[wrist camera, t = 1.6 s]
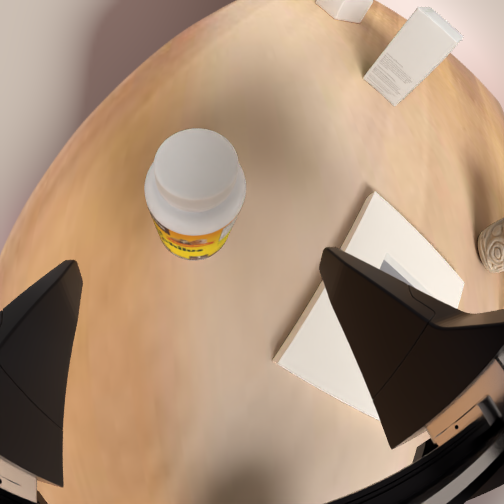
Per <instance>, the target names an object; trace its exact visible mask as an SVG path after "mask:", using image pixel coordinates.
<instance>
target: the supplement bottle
mask: <svg viewBox="0 0 504 504" xmlns="http://www.w3.org/2000/svg"><path fill="white" fill-rule="evenodd" d="M144 191H145V198H146V202H147V205H148V209H149V211H150V213H151V216H152V218H153V221H154V224H155V226H156V229H157V231H158V234H159V236H160V238H161V240H162V242H163V244H164V245H165V247H166V248H167V249H168V250H169V251H170V252H171V253H172V254H174V255H175V256H177V257H180V258H182V259H186V260H202V259H205V258H208V257H210V256H212V255H213V254H215V253H216V252H217V251H219V250H220V249H221V247H222V246H223V245H224V243H225V242H226V240H227V238H228V235H229V233H230V231H231V229H232V227H233V225H234V223H235V220H236V218H237V216H238V214H239V212H240V210H241V207H242V205H243V202H244V199H245V195H246V179H245V175H244V172H243V170H242V168H241V166H240V164H239V162H238V156H237V153H236V151H235V149H234V147H233V145H232V144H231V143H230V142H229V141H228V140H227V139H226V138H225V137H223V136H222V135H220V134H219V133H216V132H214V131H211V130H208V129H201V128H193V129H186V130H183V131H179V132H177V133H175V134H173V135H172V136H170V137H169V138H167V139H166V140H165V141H164V142H163V143H162V144H161V146H160V147H159V149H158V150H157V153H156V155H155V159H154V162H153V163H152V165H151V166H150V168H149V170H148V173H147V175H146V179H145V187H144Z"/></svg>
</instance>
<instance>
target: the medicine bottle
mask: <svg viewBox="0 0 504 504" xmlns="http://www.w3.org/2000/svg"><path fill="white" fill-rule="evenodd" d="M372 3H373V0H316V4H317V5H318V6H320V7H321V8H322V9H323V10H324V11H326V12H327V13H328V14H329V15H330V16H331V17H333V18H334V19H336V20H342V21H348V22H354V23H360V22H361V20H362V19H363V17H364V16H365V14H366V12H367V11H368V9H369V8H370V6H371V4H372Z"/></svg>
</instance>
